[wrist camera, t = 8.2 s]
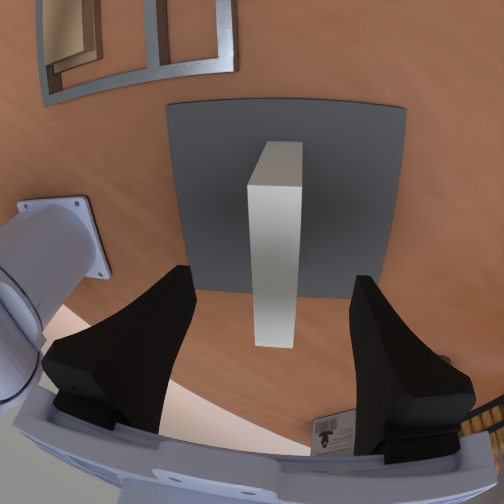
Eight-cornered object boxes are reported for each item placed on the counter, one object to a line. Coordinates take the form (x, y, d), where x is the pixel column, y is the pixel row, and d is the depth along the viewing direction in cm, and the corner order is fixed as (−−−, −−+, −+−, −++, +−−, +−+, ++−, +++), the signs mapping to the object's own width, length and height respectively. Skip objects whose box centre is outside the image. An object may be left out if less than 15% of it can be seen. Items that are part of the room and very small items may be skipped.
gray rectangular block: (269, 268, 22) (255, 345, 16) (267, 141, 17) (247, 185, 11) (298, 269, 22) (292, 348, 16) (302, 141, 17) (301, 187, 11)
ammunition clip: (508, 391, 29) (525, 460, 19) (508, 396, 30) (524, 462, 20) (447, 421, 34) (456, 490, 24) (449, 424, 35) (457, 491, 25)
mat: (195, 284, 25) (193, 288, 24) (169, 104, 17) (165, 105, 17) (372, 294, 23) (373, 299, 22) (403, 108, 15) (406, 109, 14)
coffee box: (378, 429, 36) (379, 531, 23) (338, 439, 39) (333, 535, 26) (355, 407, 33) (353, 530, 20) (309, 419, 36) (298, 533, 22)
